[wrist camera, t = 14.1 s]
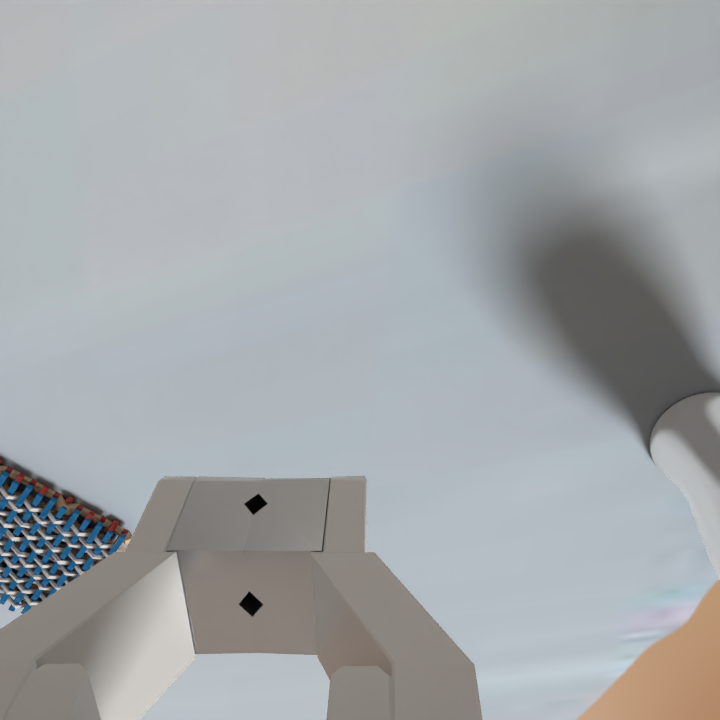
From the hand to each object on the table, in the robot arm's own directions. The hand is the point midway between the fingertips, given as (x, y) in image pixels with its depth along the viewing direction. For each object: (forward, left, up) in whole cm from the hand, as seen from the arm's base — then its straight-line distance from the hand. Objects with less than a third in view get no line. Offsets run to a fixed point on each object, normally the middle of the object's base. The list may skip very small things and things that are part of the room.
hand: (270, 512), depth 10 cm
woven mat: (+23, -22, -28) cm, 42 cm away
